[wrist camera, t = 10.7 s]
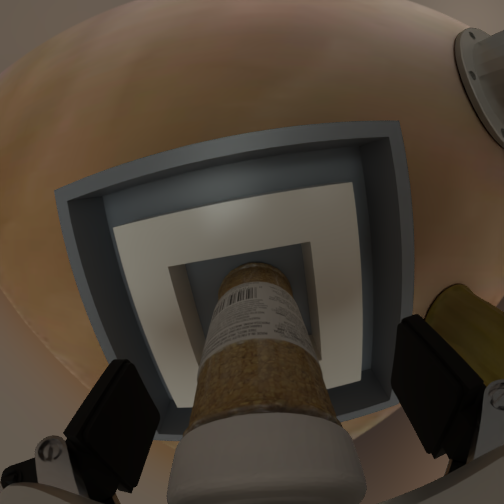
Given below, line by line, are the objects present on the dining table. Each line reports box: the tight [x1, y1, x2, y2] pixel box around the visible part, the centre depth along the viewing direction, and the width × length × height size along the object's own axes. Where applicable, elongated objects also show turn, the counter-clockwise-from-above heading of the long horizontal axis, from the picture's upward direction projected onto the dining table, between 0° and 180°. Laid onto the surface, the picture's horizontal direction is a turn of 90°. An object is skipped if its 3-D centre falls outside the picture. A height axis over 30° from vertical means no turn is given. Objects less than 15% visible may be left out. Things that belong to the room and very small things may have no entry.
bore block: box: [113, 182, 363, 408], centre depth 15 cm, size 12×12×3 cm
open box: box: [54, 121, 414, 441], centre depth 15 cm, size 18×18×4 cm
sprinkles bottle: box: [167, 262, 367, 504], centre depth 10 cm, size 5×5×13 cm
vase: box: [425, 284, 504, 387], centre depth 11 cm, size 6×6×14 cm
